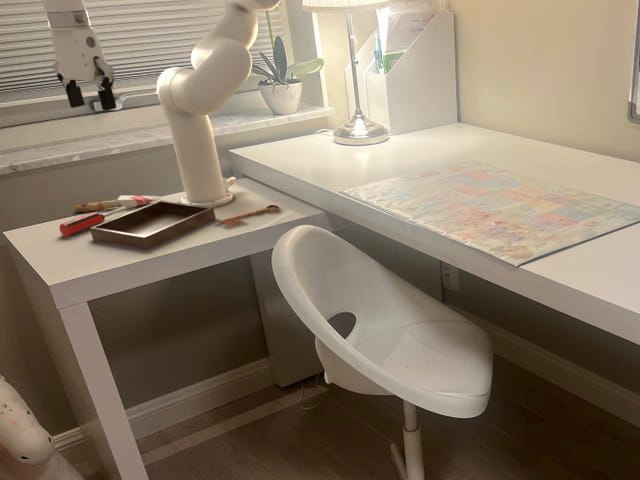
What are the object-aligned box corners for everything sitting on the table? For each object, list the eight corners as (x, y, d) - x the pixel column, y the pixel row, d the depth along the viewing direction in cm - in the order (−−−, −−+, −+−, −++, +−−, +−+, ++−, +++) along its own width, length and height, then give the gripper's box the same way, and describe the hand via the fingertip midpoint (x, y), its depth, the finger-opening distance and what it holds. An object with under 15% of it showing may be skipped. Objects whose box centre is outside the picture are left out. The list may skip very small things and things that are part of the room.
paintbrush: (158, 194, 180) (72, 205, 177) (161, 205, 181) (76, 216, 178) (160, 189, 183) (76, 200, 180) (164, 200, 184) (80, 211, 181)
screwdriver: (123, 214, 178) (118, 201, 176) (132, 214, 176) (127, 201, 175) (63, 238, 164) (57, 224, 163) (72, 237, 163) (66, 224, 161)
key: (227, 229, 166) (286, 213, 174) (226, 226, 165) (286, 210, 174) (216, 221, 170) (275, 206, 178) (215, 217, 169) (274, 202, 177)
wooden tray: (164, 212, 177) (160, 199, 175) (216, 220, 171) (213, 207, 169) (93, 241, 161) (89, 227, 159) (148, 251, 155) (144, 237, 153)
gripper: (114, 19, 148) (136, 106, 157) (56, 18, 155) (80, 102, 164) (82, 23, 143) (107, 114, 151) (24, 22, 149) (51, 108, 158)
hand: (93, 107), depth 157 cm, fingers open, 9 cm apart
